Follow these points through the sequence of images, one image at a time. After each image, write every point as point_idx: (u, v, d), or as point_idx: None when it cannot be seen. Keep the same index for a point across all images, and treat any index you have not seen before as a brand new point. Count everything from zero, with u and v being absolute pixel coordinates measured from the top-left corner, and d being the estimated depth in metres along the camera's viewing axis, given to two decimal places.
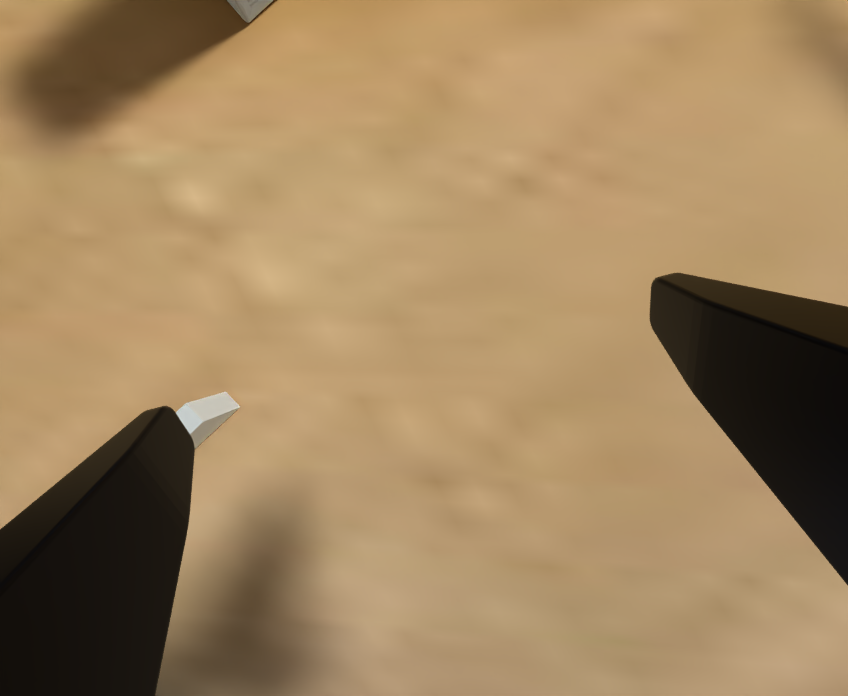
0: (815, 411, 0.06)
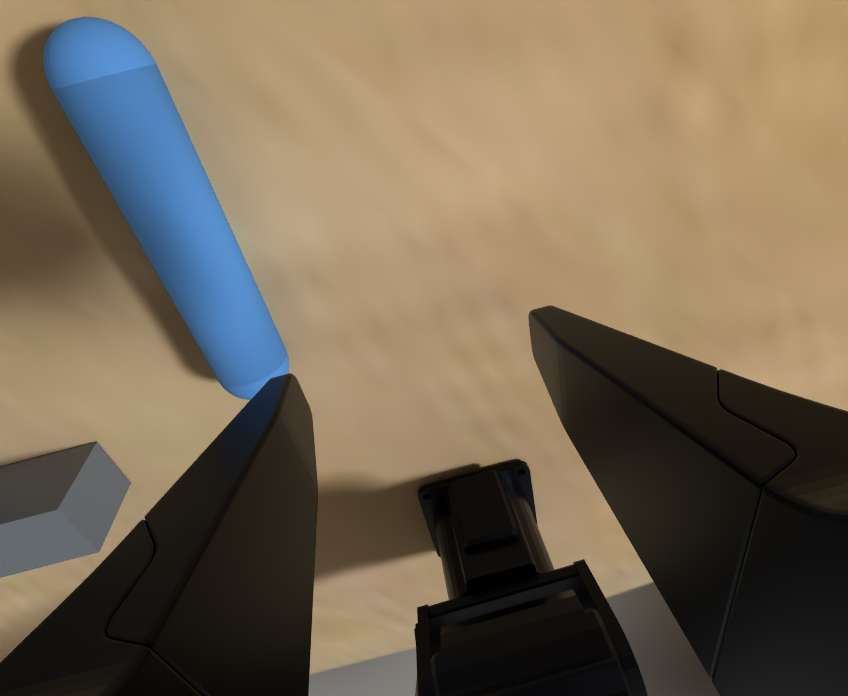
0: (637, 457, 0.06)
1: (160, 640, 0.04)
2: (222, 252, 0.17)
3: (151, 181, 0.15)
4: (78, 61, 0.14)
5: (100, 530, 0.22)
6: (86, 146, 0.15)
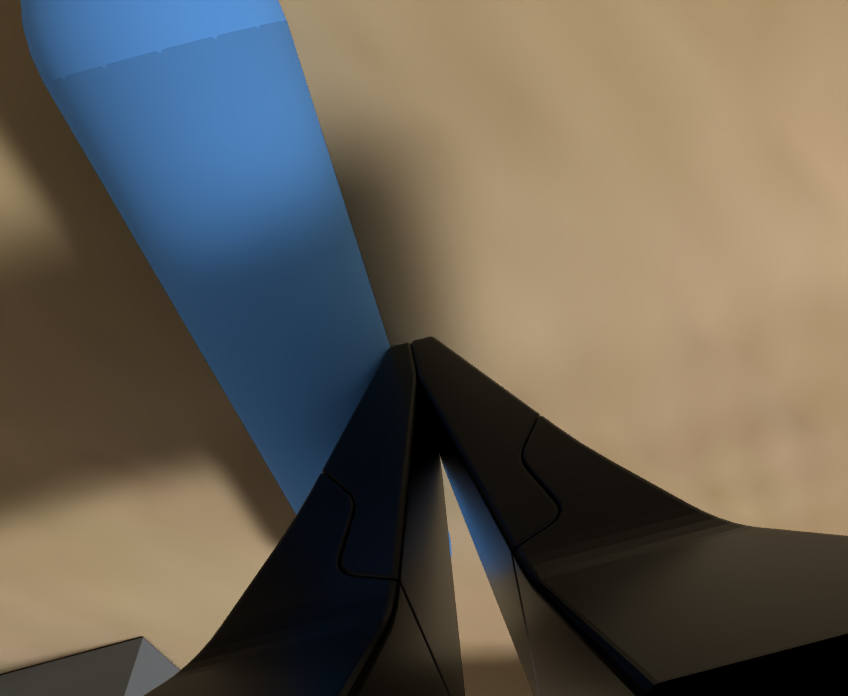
0: (469, 501, 0.06)
1: (400, 578, 0.04)
2: None
3: (274, 292, 0.07)
4: (115, 2, 0.05)
5: None
6: (127, 216, 0.06)
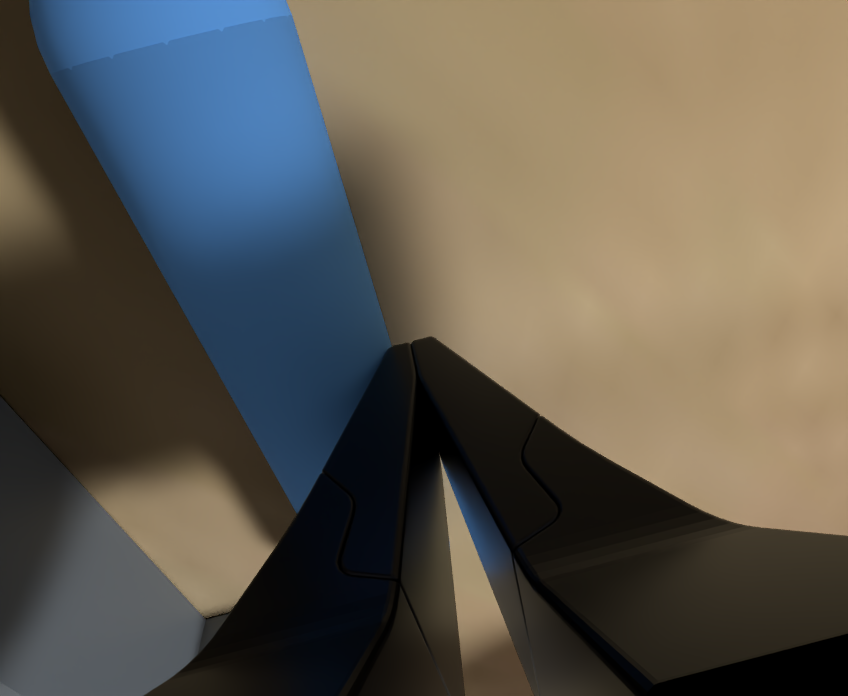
0: (469, 501, 0.06)
1: (400, 578, 0.04)
2: None
3: (276, 285, 0.07)
4: None
5: None
6: (131, 208, 0.06)
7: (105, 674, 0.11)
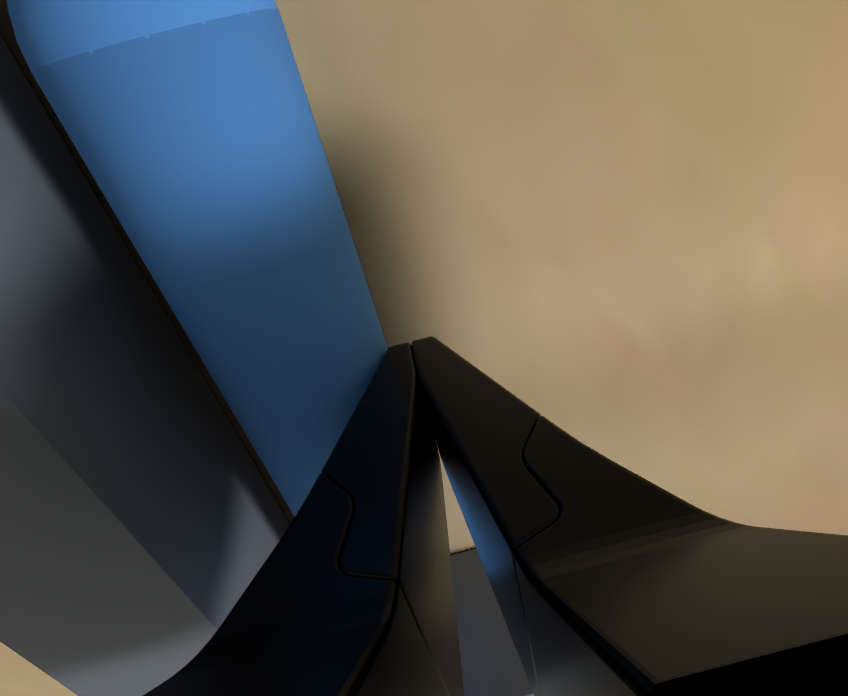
0: (469, 501, 0.06)
1: (399, 578, 0.04)
2: None
3: (266, 284, 0.07)
4: None
5: None
6: (116, 208, 0.06)
7: None
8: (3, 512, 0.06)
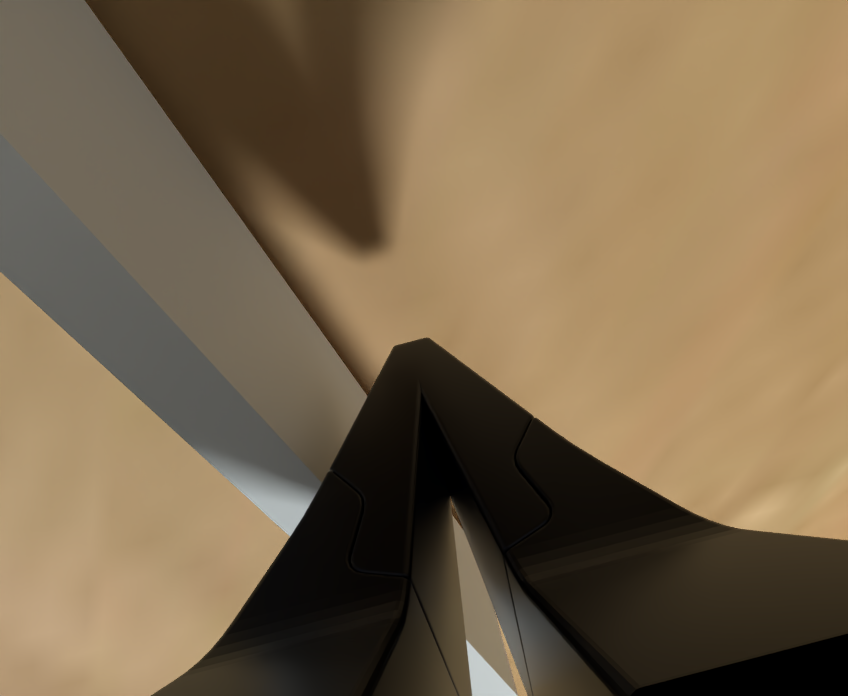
0: (463, 503, 0.06)
1: (411, 575, 0.04)
2: None
3: None
4: None
5: None
6: None
7: None
8: None
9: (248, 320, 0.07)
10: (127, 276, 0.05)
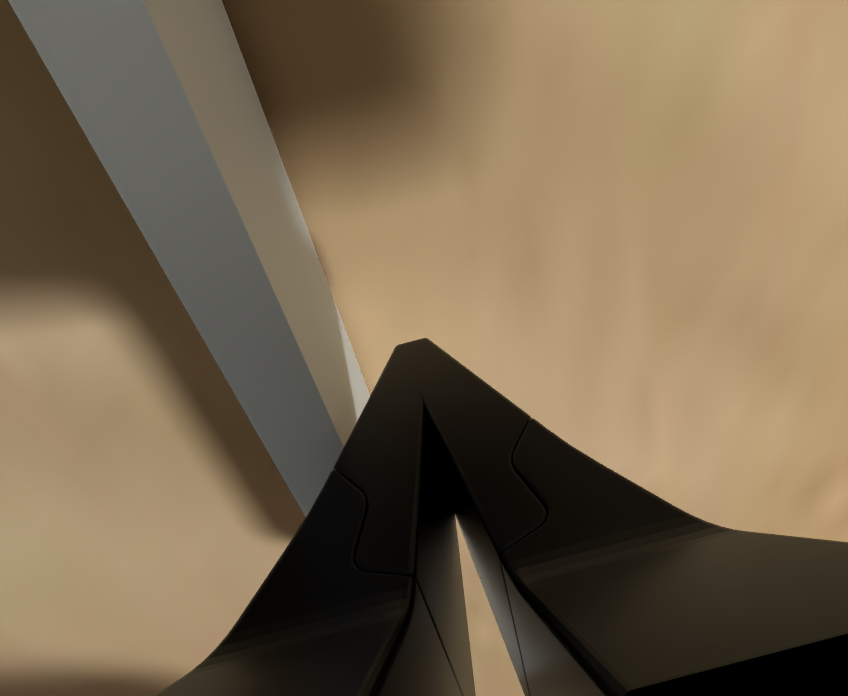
0: (460, 503, 0.06)
1: (415, 574, 0.04)
2: None
3: None
4: None
5: None
6: None
7: None
8: None
9: (301, 286, 0.07)
10: (235, 215, 0.05)
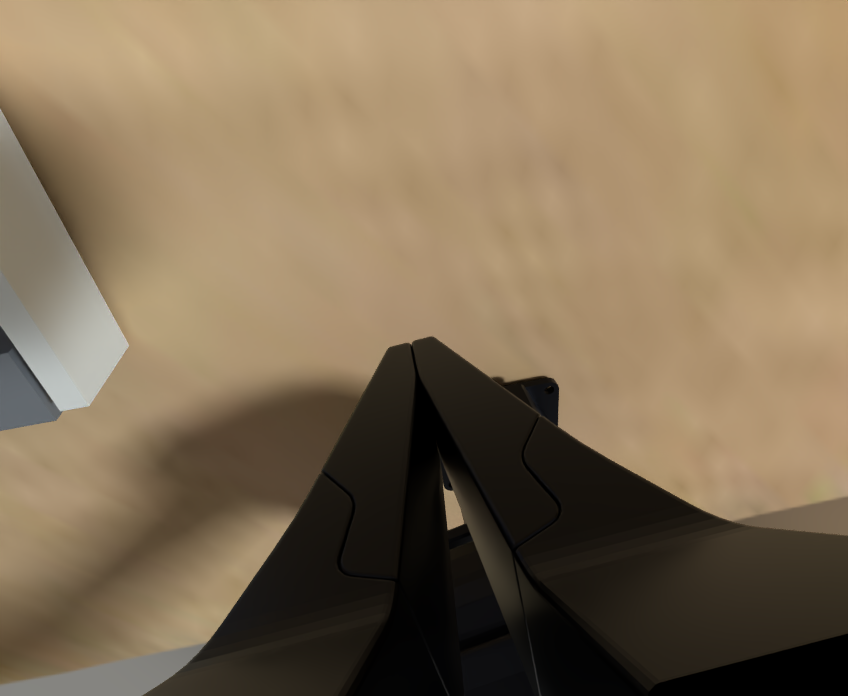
0: (469, 501, 0.06)
1: (399, 578, 0.04)
2: None
3: None
4: None
5: None
6: None
7: None
8: None
9: None
10: None
